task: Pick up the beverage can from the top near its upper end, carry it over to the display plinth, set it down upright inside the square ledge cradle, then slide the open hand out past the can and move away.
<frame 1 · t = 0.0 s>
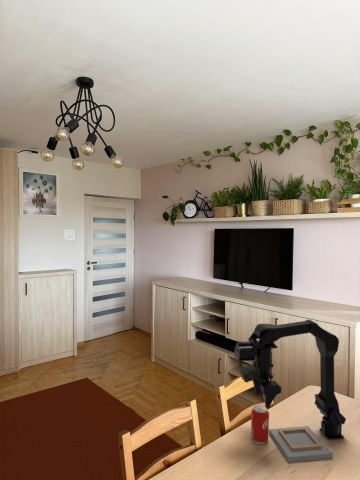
hand: (262, 401, 127), 15 cm above the table, tool pointing down, fingers open, 9 cm apart
display plinth: (298, 445, 124), on the table
beverage can: (259, 440, 127), on the table
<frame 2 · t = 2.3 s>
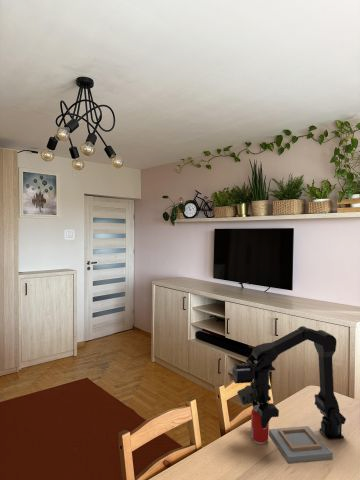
hand: (259, 422, 127), 7 cm above the table, tool pointing down, fingers closed on beverage can, 6 cm apart
beverage can: (259, 440, 127), on the table, touching gripper
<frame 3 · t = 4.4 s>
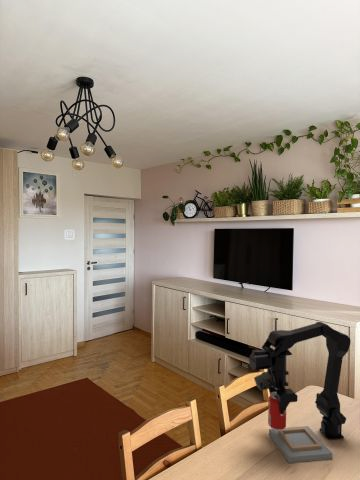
hand: (277, 408, 125), 13 cm above the table, tool pointing down, fingers closed on beverage can, 6 cm apart
beverage can: (276, 427, 126), point 5 cm above the table, touching gripper
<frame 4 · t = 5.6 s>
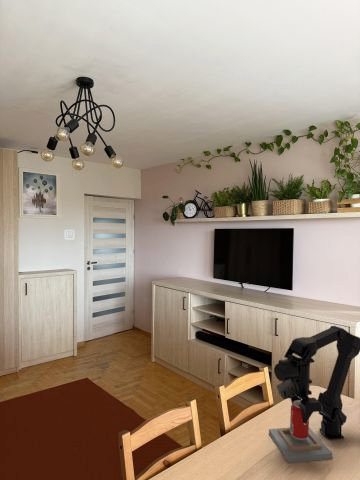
hand: (300, 417, 124), 10 cm above the table, tool pointing down, fingers closed on beverage can, 6 cm apart
beverage can: (298, 436, 124), point 3 cm above the table, touching gripper
when the fingers open (9 cm above the table, at t = 6.7 s): beverage can stays where it is, resting on display plinth.
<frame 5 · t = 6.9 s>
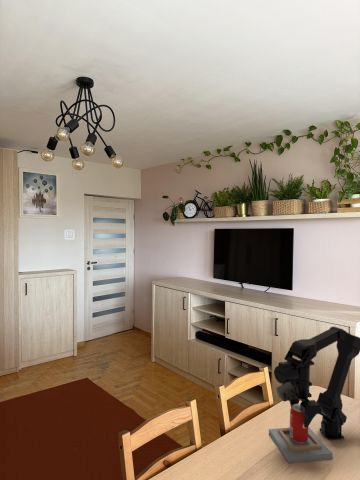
hand: (299, 420, 124), 9 cm above the table, tool pointing down, fingers open, 8 cm apart
beverage can: (298, 440, 124), point 2 cm above the table, touching display plinth
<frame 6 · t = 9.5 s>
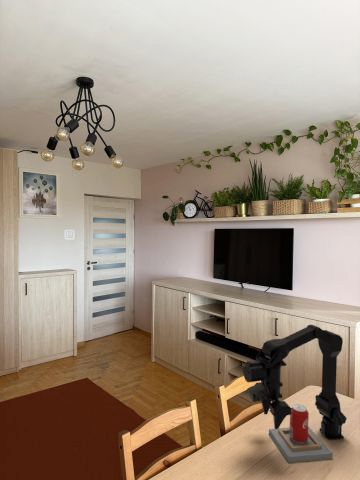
hand: (270, 421, 122), 10 cm above the table, tool pointing down, fingers open, 9 cm apart
nothing on the table moved.
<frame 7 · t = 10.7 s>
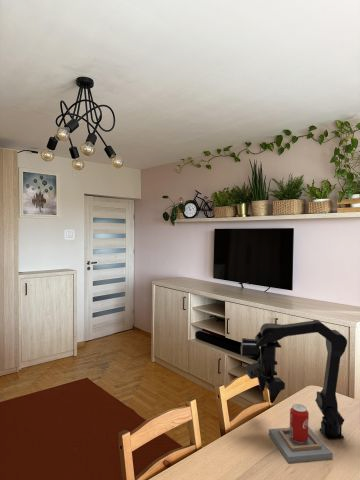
hand: (266, 396, 133), 13 cm above the table, tool pointing down, fingers open, 9 cm apart
nothing on the table moved.
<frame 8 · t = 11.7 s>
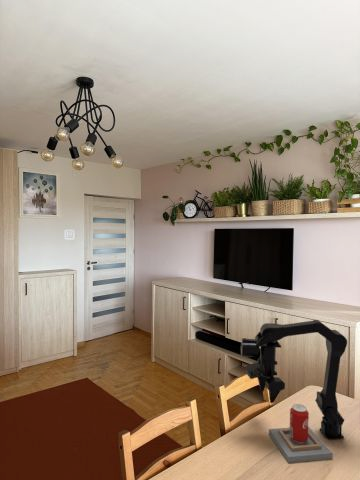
hand: (266, 396, 133), 13 cm above the table, tool pointing down, fingers open, 9 cm apart
nothing on the table moved.
at the end: beverage can 0.4 cm off-centre on the display plinth, point 1.8 cm above the display plinth's base; beverage can tilted 0°; the gripper is holding nothing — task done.
